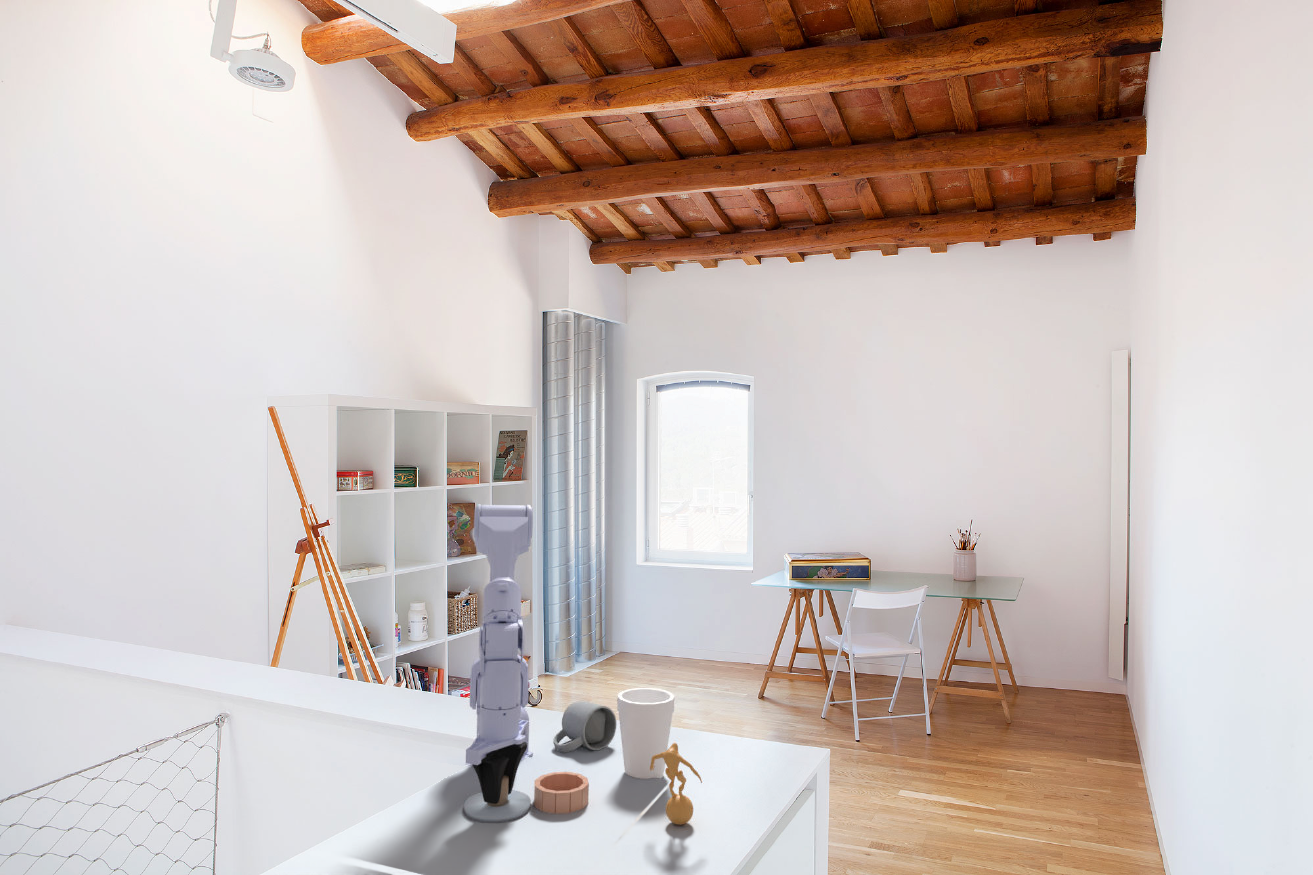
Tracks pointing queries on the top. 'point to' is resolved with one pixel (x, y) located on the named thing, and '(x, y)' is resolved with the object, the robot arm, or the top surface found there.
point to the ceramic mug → (586, 726)
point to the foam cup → (644, 729)
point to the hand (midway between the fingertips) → (497, 797)
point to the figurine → (679, 805)
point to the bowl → (561, 792)
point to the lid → (498, 805)
